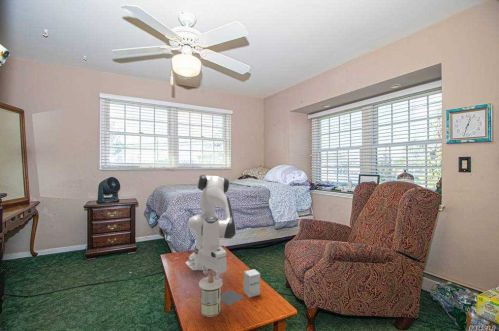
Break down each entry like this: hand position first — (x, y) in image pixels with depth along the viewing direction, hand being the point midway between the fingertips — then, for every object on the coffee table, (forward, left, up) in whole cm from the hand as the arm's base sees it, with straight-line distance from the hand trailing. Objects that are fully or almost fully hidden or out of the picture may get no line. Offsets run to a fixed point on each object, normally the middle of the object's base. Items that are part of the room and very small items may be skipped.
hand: (210, 276), depth 123 cm
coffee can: (0, 0, -18) cm, 18 cm away
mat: (-2, +15, -18) cm, 24 cm away
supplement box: (+4, +27, -18) cm, 33 cm away
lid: (0, 0, -4) cm, 4 cm away
